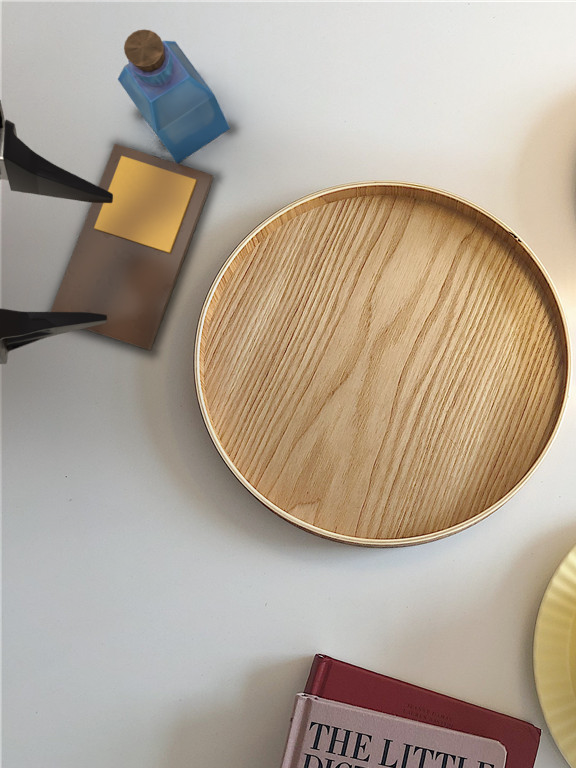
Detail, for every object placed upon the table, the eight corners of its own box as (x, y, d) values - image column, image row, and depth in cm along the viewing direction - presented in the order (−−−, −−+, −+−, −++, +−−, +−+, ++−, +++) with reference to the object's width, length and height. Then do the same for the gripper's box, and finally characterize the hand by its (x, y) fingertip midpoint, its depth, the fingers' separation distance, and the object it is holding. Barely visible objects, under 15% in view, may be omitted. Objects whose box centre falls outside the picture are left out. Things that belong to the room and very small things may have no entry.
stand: (51, 318, 66) (46, 316, 65) (116, 146, 68) (113, 141, 67) (150, 350, 66) (147, 348, 65) (214, 177, 67) (211, 173, 67)
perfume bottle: (177, 163, 68) (133, 98, 56) (141, 114, 68) (90, 39, 56) (229, 128, 68) (197, 56, 56) (194, 79, 68) (153, -3, 56)
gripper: (-214, 346, 36) (108, 366, 43) (-181, 16, 38) (121, 83, 45) (-150, 375, 46) (102, 387, 53) (-127, 112, 49) (113, 155, 55)
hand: (109, 258), depth 51 cm, fingers open, 9 cm apart
